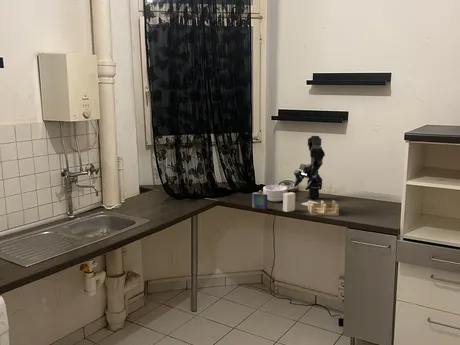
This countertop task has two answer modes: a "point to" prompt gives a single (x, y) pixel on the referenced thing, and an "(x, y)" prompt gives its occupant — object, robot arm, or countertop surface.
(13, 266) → the countertop surface
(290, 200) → the white rectangular block
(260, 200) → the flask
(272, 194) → the paper bowls
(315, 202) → the drying mat
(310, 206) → the rack
